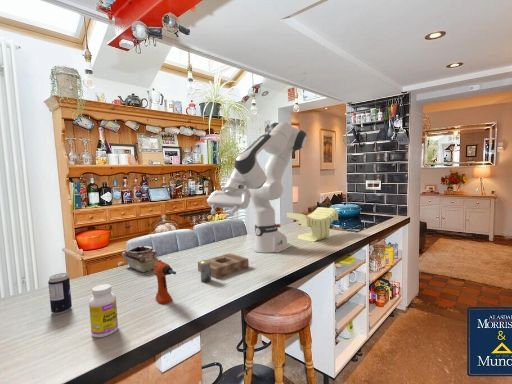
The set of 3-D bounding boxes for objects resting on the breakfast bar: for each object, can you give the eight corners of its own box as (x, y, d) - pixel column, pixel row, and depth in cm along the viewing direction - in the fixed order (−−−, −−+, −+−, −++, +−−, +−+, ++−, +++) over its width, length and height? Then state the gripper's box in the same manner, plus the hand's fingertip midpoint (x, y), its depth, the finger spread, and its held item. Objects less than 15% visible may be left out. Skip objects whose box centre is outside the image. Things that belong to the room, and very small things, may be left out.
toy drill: (172, 313, 85) (166, 265, 85) (153, 300, 99) (149, 260, 100) (186, 308, 88) (181, 262, 88) (166, 296, 102) (162, 257, 102)
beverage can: (74, 310, 93) (71, 274, 92) (53, 317, 89) (50, 280, 88) (69, 305, 97) (66, 271, 96) (49, 311, 92) (45, 276, 92)
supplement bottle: (103, 340, 74) (99, 293, 74) (85, 336, 77) (82, 290, 76) (123, 327, 81) (120, 284, 80) (106, 323, 83) (103, 281, 82)
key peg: (207, 278, 116) (206, 259, 116) (213, 280, 113) (211, 261, 113) (199, 280, 114) (198, 261, 113) (204, 283, 111) (203, 263, 110)
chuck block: (230, 261, 138) (229, 253, 138) (248, 267, 128) (248, 258, 127) (198, 270, 126) (197, 262, 126) (215, 278, 116) (215, 269, 115)
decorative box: (131, 277, 121) (129, 255, 121) (115, 268, 136) (113, 248, 135) (159, 269, 131) (158, 249, 130) (142, 261, 145) (140, 242, 144)
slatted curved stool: (307, 245, 161) (306, 214, 160) (288, 240, 174) (286, 212, 173) (338, 236, 180) (337, 208, 179) (318, 232, 193) (318, 207, 191)
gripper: (212, 185, 132) (199, 208, 124) (249, 186, 123) (238, 210, 115) (217, 194, 136) (205, 216, 128) (254, 195, 127) (243, 220, 119)
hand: (221, 214), depth 122 cm, fingers open, 8 cm apart
